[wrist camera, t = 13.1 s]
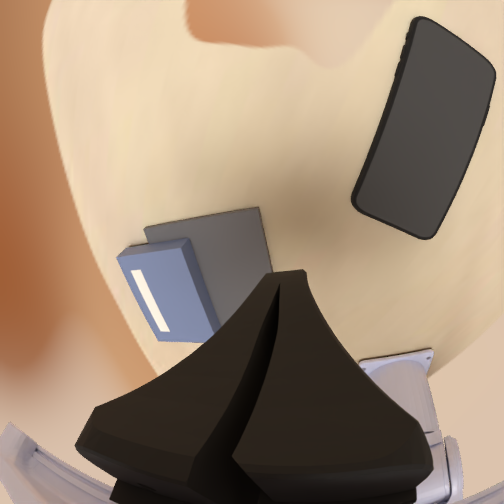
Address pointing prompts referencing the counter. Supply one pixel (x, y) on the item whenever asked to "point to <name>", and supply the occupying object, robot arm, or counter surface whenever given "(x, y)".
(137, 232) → the counter surface
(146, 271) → the block
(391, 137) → the smartphone
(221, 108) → the counter surface
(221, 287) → the mat
